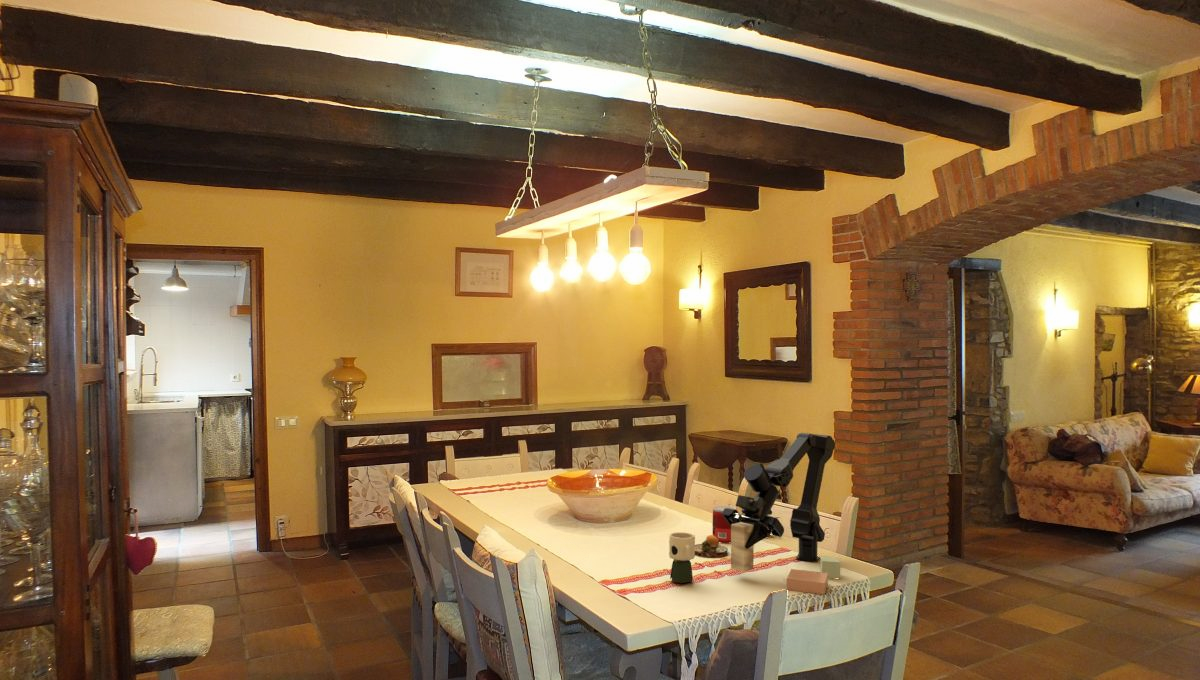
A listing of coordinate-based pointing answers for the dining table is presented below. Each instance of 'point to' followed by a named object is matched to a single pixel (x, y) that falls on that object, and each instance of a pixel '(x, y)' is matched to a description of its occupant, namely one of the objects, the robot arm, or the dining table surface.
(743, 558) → the beech post
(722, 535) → the canned food
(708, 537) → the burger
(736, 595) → the dining table surface
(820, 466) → the robot arm
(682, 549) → the character mug
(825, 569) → the sage block
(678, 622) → the dining table surface
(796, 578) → the terracotta tile
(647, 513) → the dining table surface
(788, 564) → the dining table surface
